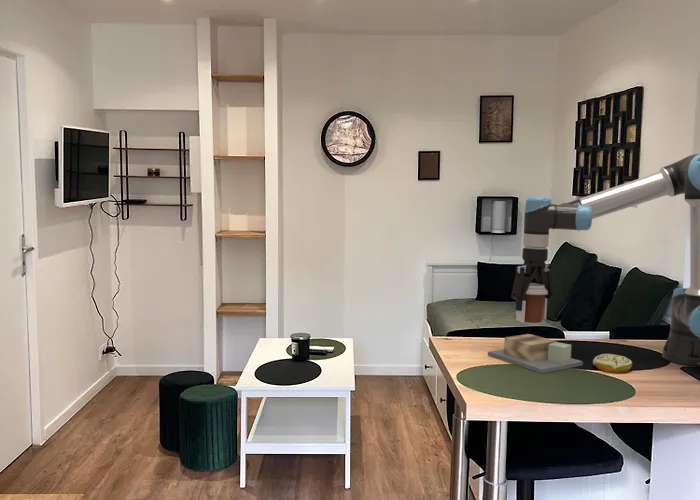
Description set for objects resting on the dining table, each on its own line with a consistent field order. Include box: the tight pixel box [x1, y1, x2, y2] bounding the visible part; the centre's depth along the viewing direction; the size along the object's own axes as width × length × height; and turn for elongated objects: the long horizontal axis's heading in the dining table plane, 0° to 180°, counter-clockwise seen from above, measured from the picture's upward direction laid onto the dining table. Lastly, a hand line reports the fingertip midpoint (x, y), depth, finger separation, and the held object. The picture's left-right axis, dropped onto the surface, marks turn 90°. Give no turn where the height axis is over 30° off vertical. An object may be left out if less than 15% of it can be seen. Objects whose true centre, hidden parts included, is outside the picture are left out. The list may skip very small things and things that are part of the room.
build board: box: [487, 348, 584, 374], centre depth 204 cm, size 22×18×1 cm
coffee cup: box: [520, 282, 548, 326], centre depth 204 cm, size 9×9×12 cm
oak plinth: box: [503, 333, 557, 361], centre depth 205 cm, size 11×11×5 cm
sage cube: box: [548, 341, 572, 364], centre depth 199 cm, size 5×5×5 cm
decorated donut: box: [592, 353, 633, 374], centre depth 197 cm, size 10×11×4 cm
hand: (531, 319), depth 204 cm, fingers closed on coffee cup, 9 cm apart
